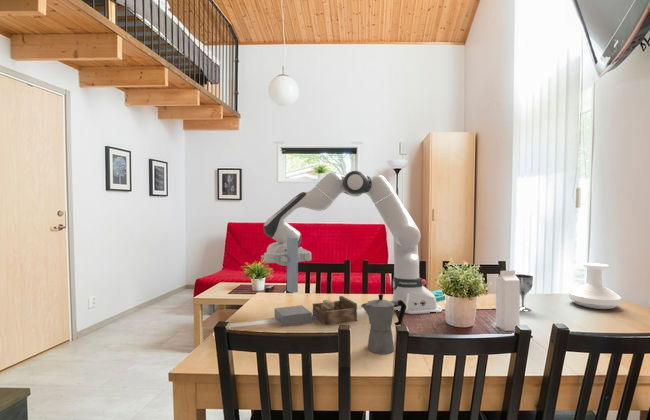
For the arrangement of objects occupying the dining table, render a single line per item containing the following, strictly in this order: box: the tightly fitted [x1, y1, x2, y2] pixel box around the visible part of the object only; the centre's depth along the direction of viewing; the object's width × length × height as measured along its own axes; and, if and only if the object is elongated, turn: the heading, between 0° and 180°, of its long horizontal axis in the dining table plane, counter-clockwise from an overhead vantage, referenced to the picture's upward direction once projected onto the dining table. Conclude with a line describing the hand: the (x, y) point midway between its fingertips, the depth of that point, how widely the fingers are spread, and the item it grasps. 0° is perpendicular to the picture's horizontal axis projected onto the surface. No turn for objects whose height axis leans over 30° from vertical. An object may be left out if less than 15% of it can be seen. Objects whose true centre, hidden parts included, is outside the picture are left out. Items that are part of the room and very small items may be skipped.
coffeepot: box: [360, 293, 406, 355], centre depth 123 cm, size 15×9×18 cm, turn 101°
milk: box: [495, 270, 521, 332], centre depth 143 cm, size 6×6×22 cm
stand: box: [274, 304, 313, 327], centre depth 154 cm, size 12×12×4 cm
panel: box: [286, 237, 299, 294], centre depth 153 cm, size 3×5×22 cm, turn 23°
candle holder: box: [568, 262, 622, 310], centre depth 174 cm, size 20×20×19 cm
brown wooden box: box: [312, 295, 358, 326], centre depth 157 cm, size 14×14×7 cm
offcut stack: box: [321, 299, 334, 312], centre depth 155 cm, size 3×8×7 cm, turn 23°
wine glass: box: [515, 273, 534, 312], centre depth 169 cm, size 8×8×15 cm
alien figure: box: [429, 289, 446, 302], centre depth 190 cm, size 20×2×20 cm
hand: (293, 259), depth 153 cm, fingers closed on panel, 3 cm apart
